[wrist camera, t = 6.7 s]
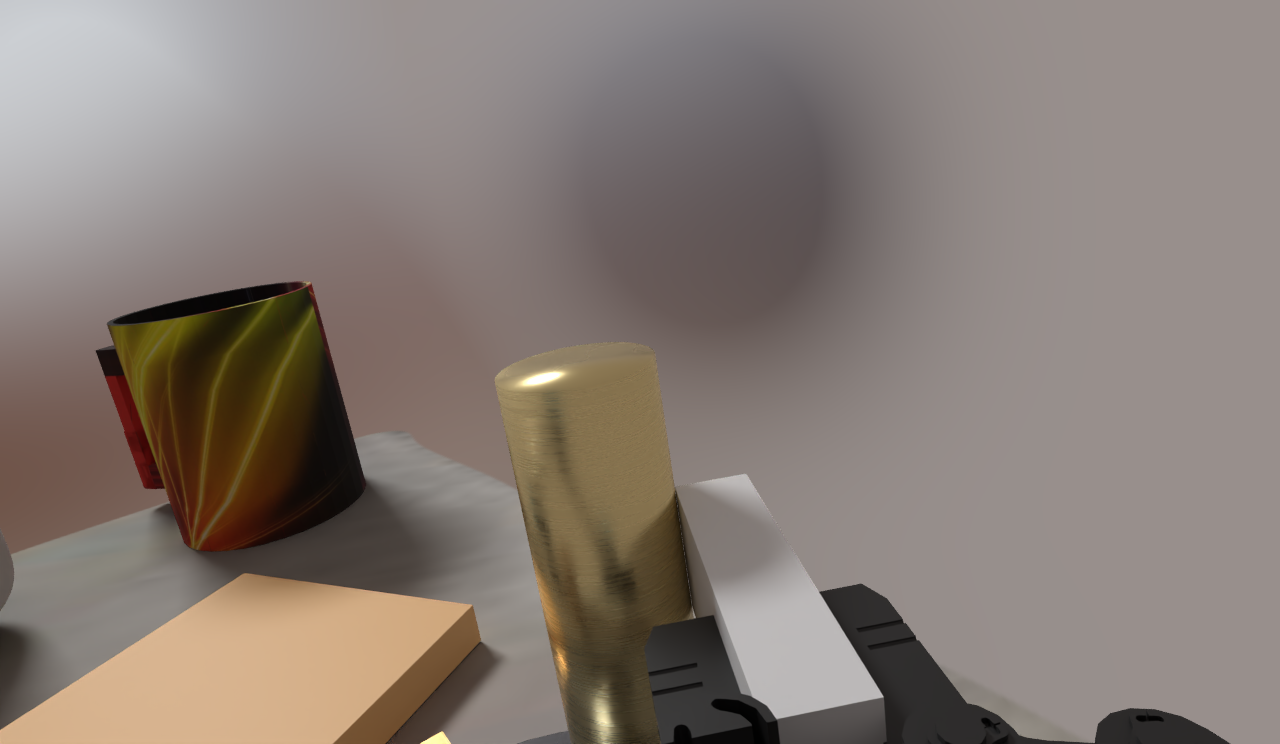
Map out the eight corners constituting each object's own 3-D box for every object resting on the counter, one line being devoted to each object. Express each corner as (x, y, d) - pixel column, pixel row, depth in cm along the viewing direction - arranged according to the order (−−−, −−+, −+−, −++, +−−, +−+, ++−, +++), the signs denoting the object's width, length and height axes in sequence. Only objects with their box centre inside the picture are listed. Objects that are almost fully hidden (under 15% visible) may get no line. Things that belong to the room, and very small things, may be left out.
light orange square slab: (-85, 838, 22) (-106, 798, 22) (254, 603, 33) (244, 573, 32) (179, 966, 17) (158, 916, 17) (481, 640, 28) (472, 604, 27)
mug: (157, 500, 47) (90, 312, 44) (381, 460, 48) (332, 273, 45) (61, 582, 38) (-34, 352, 34) (341, 530, 39) (276, 302, 35)
